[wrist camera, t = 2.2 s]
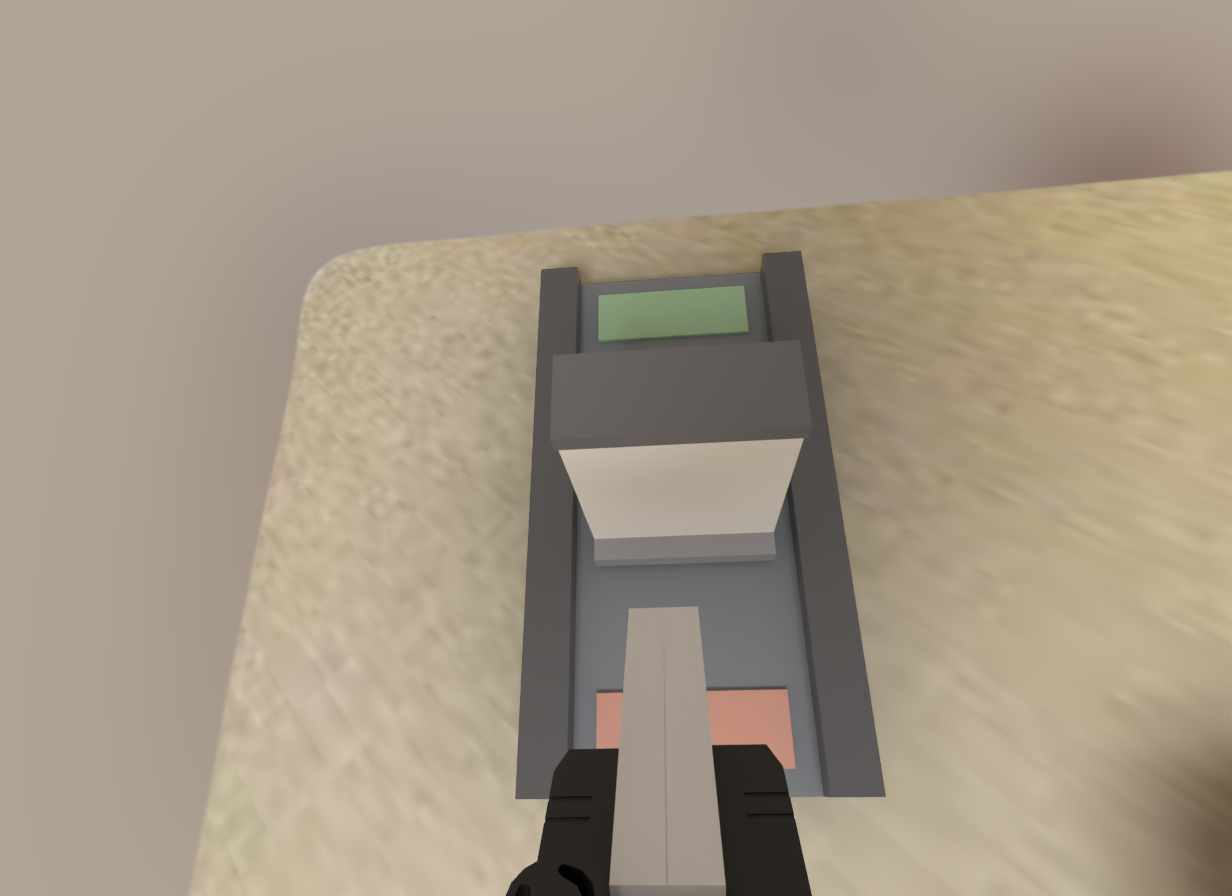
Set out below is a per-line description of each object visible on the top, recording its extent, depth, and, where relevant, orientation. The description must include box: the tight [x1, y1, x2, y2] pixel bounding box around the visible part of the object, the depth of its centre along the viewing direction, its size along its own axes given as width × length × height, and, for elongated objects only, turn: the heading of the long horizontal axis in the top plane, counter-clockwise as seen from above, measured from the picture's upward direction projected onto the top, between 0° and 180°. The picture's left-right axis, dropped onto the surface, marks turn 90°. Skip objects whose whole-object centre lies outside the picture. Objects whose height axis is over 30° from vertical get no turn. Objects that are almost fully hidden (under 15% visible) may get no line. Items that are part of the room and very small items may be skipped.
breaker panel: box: [515, 251, 886, 799], centre depth 34 cm, size 26×14×4 cm, turn 1°
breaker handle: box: [550, 340, 812, 567], centre depth 28 cm, size 5×8×11 cm, turn 90°
